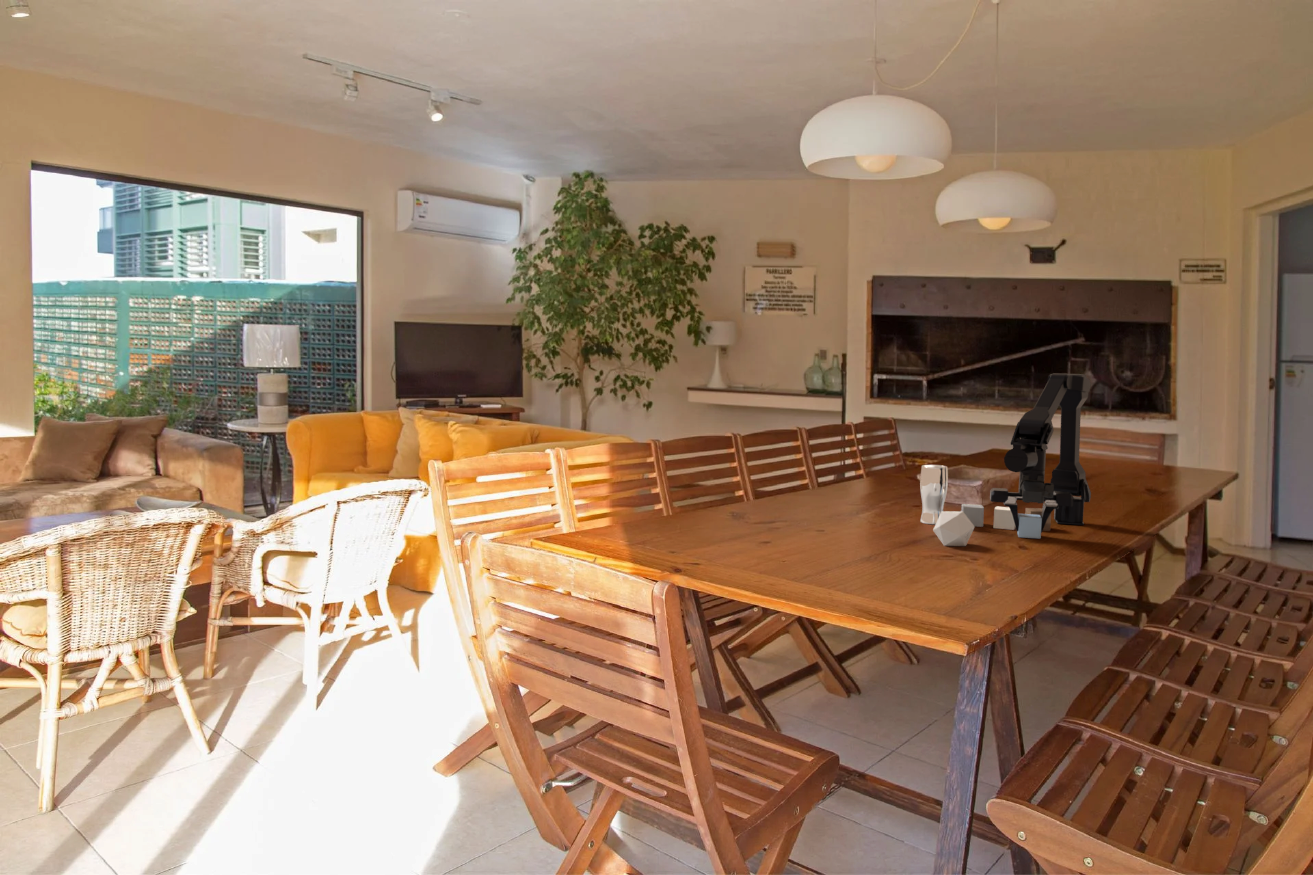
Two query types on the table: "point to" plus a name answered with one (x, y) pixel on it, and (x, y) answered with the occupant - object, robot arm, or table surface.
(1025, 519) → the bluish grey cube
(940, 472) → the beer glass
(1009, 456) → the robot arm
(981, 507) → the grey cube
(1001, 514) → the cream cube
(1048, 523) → the walnut cube
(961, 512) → the die
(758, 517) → the table surface
